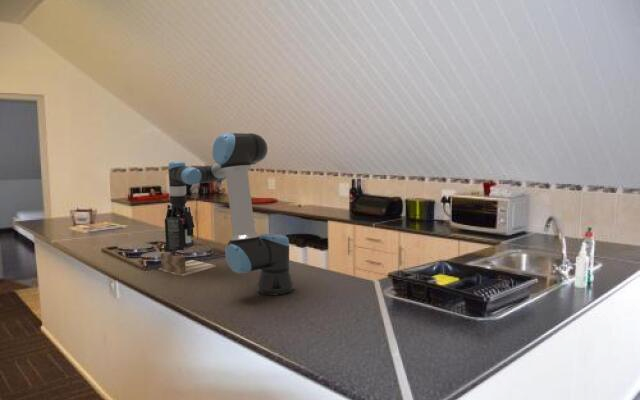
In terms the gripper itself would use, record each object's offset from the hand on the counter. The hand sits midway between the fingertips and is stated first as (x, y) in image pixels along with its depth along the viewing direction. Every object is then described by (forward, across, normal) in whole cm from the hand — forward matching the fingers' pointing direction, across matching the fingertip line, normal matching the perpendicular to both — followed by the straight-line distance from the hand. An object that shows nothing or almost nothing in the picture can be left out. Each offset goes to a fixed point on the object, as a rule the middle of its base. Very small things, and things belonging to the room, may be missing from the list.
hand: (179, 241), depth 231 cm
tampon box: (+3, 0, 0) cm, 3 cm away
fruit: (+14, +4, -40) cm, 43 cm away
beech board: (+14, 0, -4) cm, 15 cm away
